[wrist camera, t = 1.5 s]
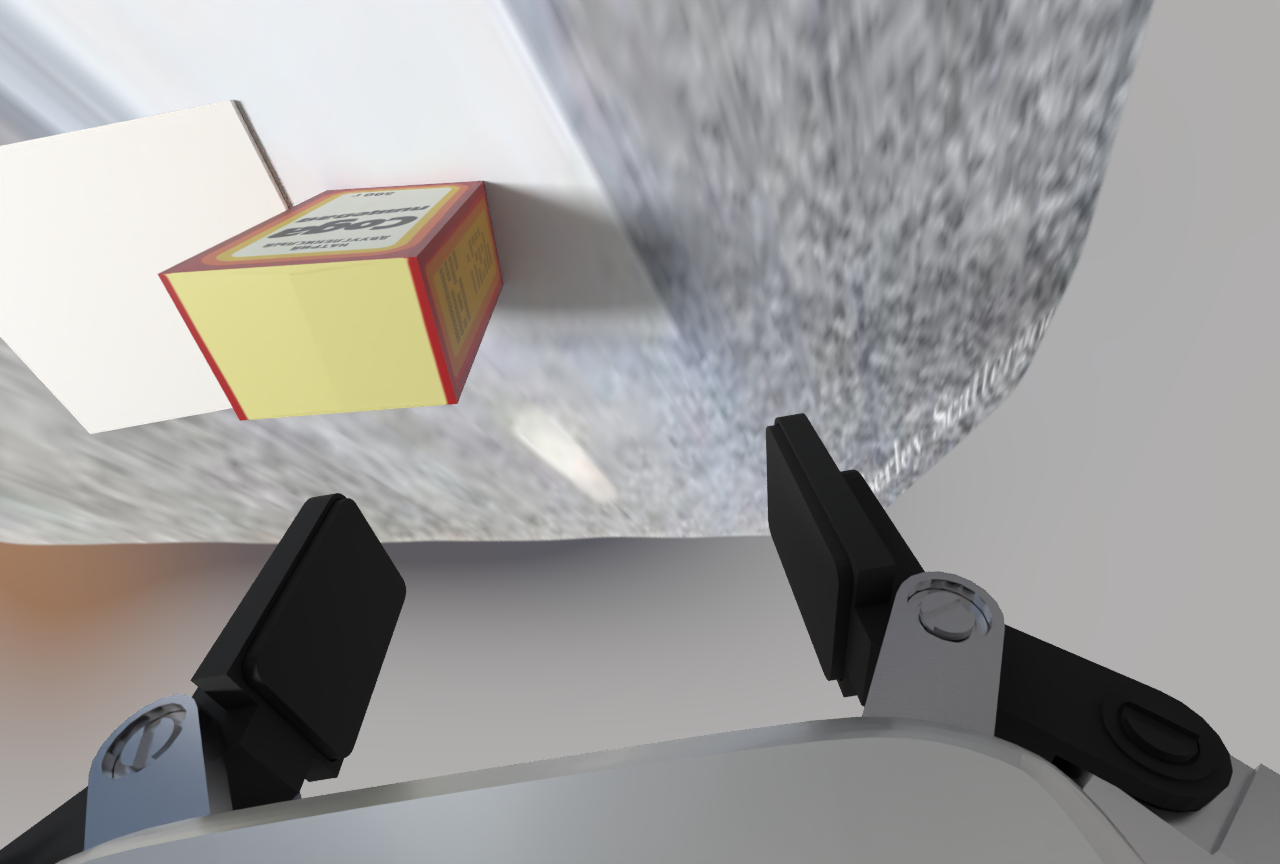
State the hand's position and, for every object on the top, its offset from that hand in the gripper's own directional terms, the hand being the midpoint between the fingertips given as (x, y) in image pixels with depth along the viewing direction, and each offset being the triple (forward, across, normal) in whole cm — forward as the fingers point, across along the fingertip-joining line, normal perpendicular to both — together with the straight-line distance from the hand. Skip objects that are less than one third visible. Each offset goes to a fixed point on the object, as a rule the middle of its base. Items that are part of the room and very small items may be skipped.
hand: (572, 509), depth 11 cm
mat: (+28, +29, 0) cm, 40 cm away
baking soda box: (+28, +11, 0) cm, 30 cm away
